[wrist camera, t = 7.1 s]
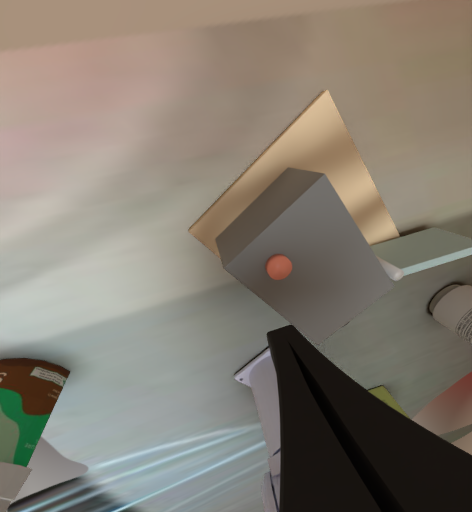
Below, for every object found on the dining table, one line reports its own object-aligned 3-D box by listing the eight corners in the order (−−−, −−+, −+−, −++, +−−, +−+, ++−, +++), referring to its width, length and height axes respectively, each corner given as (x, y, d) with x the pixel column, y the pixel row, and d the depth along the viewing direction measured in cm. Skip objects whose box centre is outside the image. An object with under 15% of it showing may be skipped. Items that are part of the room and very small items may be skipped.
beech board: (404, 252, 23) (409, 255, 23) (306, 329, 26) (309, 333, 25) (322, 91, 15) (327, 89, 14) (188, 229, 17) (188, 231, 17)
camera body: (359, 266, 22) (407, 299, 17) (299, 313, 24) (329, 356, 19) (288, 166, 16) (332, 173, 11) (215, 239, 17) (225, 273, 13)
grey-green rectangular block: (354, 262, 21) (391, 287, 17) (355, 249, 21) (393, 272, 17) (433, 238, 22) (485, 257, 18) (437, 225, 21) (491, 242, 17)
